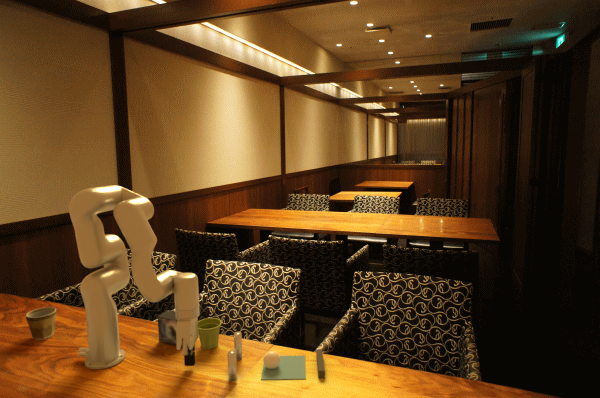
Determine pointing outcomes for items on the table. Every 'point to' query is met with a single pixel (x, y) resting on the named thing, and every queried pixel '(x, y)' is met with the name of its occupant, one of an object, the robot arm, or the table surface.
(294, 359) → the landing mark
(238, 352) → the post
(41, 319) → the ceramic cup
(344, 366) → the table surface
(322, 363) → the wall
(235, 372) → the post
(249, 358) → the table surface
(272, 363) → the ball
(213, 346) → the plant pot
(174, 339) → the small box
